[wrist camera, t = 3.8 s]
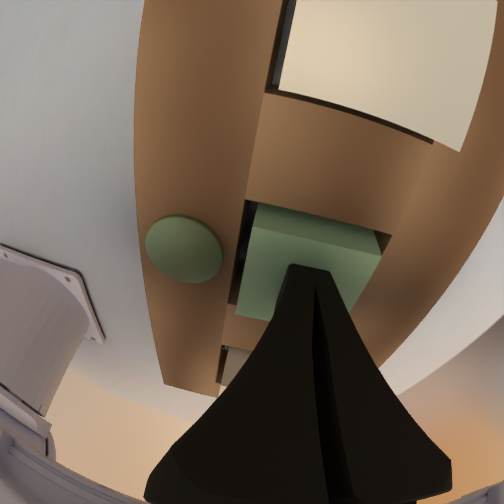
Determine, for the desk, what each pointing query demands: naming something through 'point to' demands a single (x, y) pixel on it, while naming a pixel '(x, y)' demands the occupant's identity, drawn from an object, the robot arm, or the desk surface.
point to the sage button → (303, 256)
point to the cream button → (233, 365)
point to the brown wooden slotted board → (287, 182)
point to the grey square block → (394, 59)
